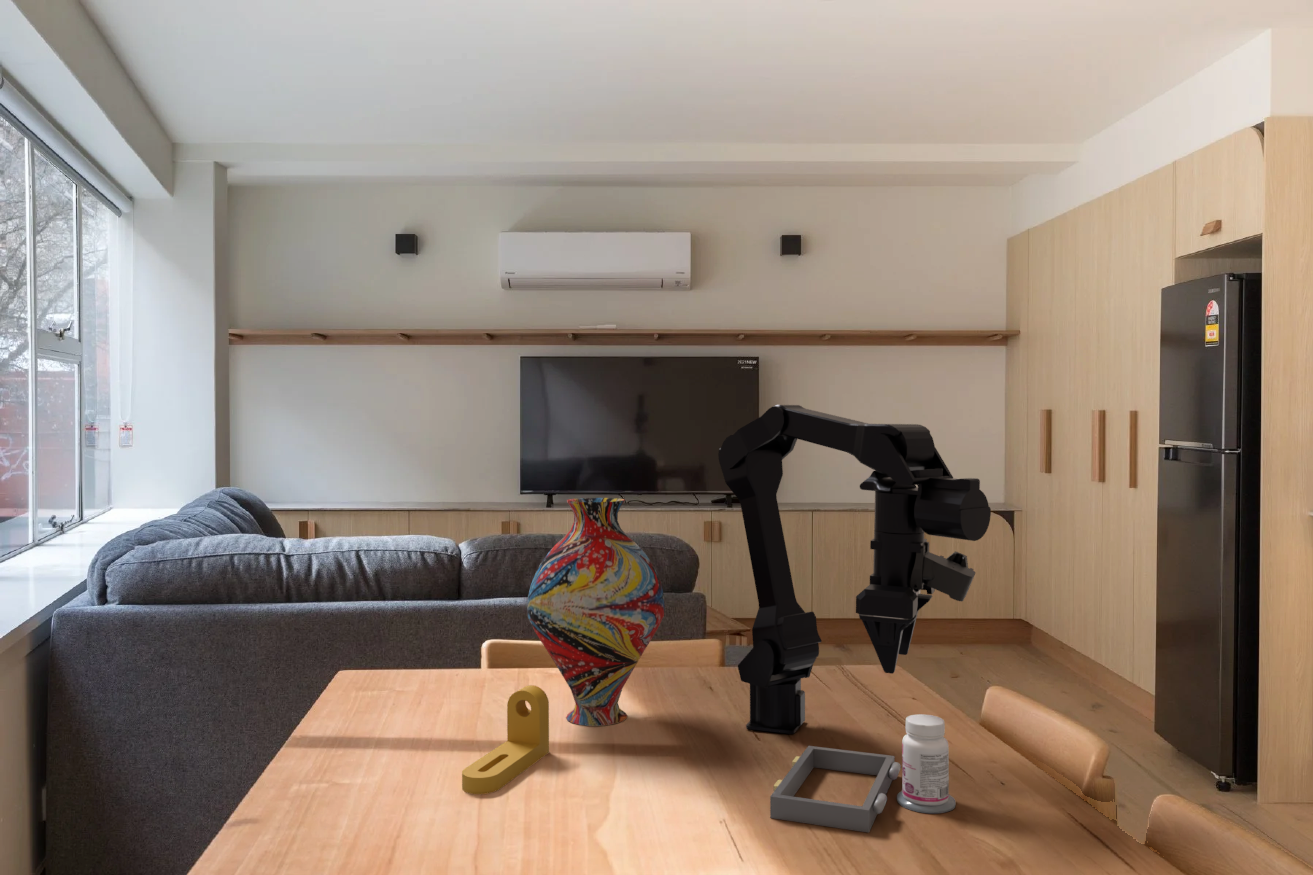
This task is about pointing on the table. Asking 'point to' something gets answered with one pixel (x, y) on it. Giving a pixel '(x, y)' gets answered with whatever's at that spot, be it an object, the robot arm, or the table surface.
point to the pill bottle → (925, 761)
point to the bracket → (513, 744)
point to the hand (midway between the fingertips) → (896, 663)
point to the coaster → (926, 809)
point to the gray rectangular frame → (831, 812)
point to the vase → (596, 608)
